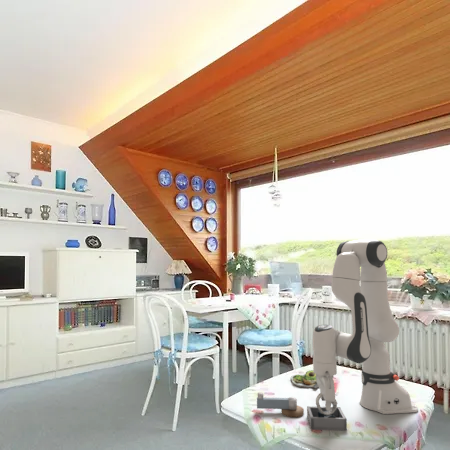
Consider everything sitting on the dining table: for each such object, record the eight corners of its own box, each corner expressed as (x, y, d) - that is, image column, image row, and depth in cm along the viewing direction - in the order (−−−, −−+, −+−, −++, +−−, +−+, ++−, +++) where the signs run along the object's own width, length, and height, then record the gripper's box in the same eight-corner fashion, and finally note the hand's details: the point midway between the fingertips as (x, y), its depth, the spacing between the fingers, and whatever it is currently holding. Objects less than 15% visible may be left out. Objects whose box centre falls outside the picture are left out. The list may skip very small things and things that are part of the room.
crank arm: (296, 406, 160) (296, 392, 160) (297, 410, 156) (297, 395, 156) (257, 405, 161) (256, 391, 161) (257, 409, 157) (256, 394, 158)
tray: (340, 417, 153) (340, 407, 153) (346, 430, 142) (346, 419, 142) (307, 416, 154) (306, 406, 154) (311, 429, 143) (310, 418, 143)
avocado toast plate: (332, 391, 183) (331, 381, 183) (294, 391, 184) (294, 381, 184) (323, 378, 202) (323, 369, 203) (289, 377, 203) (289, 368, 203)
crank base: (302, 408, 162) (302, 404, 162) (305, 417, 153) (304, 413, 153) (280, 408, 163) (280, 404, 163) (282, 417, 154) (282, 413, 154)
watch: (340, 424, 145) (339, 394, 146) (320, 426, 143) (319, 396, 144) (333, 418, 150) (332, 389, 151) (314, 419, 149) (313, 390, 150)
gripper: (338, 376, 139) (340, 416, 138) (328, 360, 159) (329, 395, 158) (321, 376, 139) (322, 415, 138) (312, 360, 160) (313, 395, 159)
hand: (325, 404), depth 148 cm, fingers open, 8 cm apart
